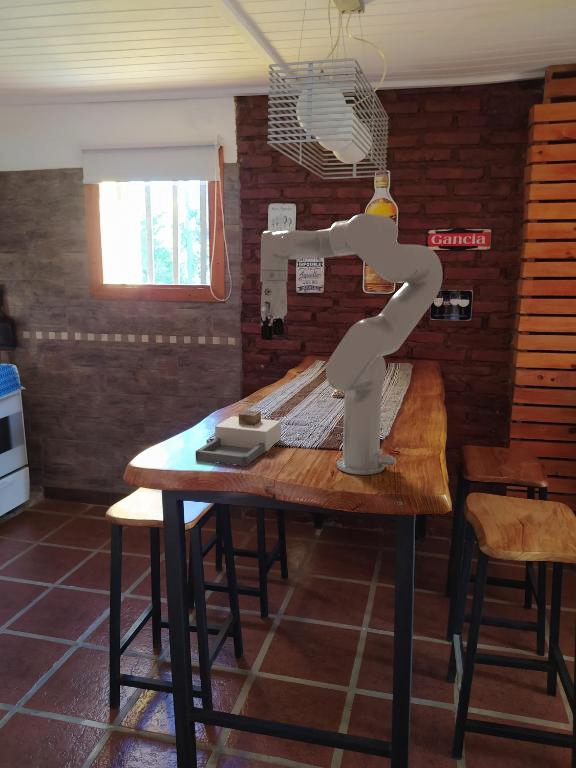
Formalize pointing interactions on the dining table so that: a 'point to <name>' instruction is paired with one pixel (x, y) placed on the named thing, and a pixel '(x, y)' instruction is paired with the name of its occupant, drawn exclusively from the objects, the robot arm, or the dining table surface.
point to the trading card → (325, 424)
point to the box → (228, 453)
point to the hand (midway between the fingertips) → (272, 337)
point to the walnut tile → (249, 417)
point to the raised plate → (248, 433)
